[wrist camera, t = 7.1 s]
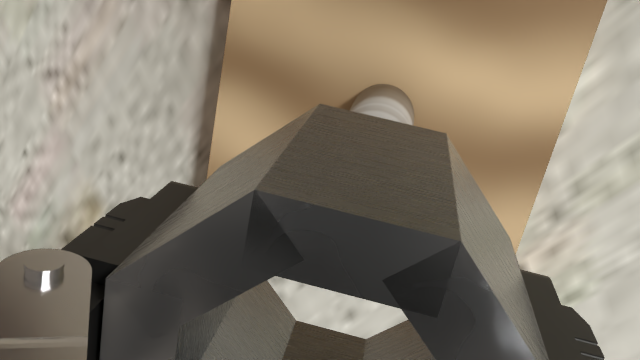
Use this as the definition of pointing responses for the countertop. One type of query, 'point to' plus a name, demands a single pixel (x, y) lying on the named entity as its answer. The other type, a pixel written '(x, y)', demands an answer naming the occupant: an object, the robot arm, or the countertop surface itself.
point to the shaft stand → (414, 78)
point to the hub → (327, 254)
